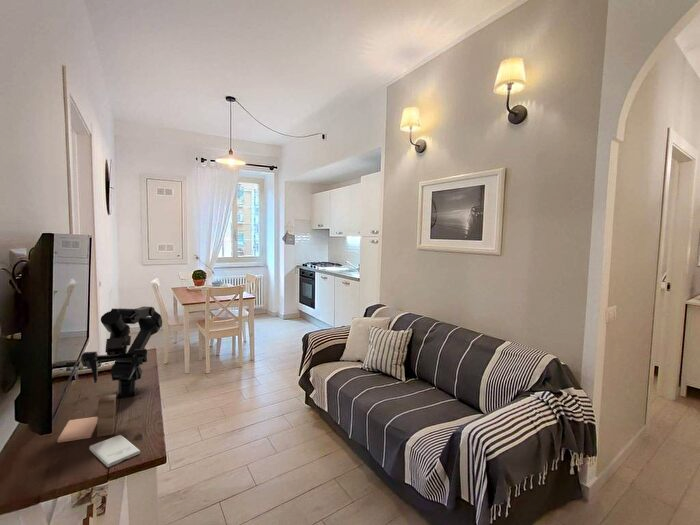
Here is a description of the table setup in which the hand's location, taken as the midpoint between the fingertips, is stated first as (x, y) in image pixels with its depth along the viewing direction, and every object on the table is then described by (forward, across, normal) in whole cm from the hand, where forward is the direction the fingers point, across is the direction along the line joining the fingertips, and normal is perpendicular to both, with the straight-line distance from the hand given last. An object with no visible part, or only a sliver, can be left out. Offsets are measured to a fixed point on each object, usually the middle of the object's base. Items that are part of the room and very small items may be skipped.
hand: (112, 381), depth 113 cm
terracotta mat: (+12, -8, +6) cm, 16 cm away
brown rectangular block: (+15, 0, +4) cm, 16 cm away
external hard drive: (+24, +4, -4) cm, 25 cm away
